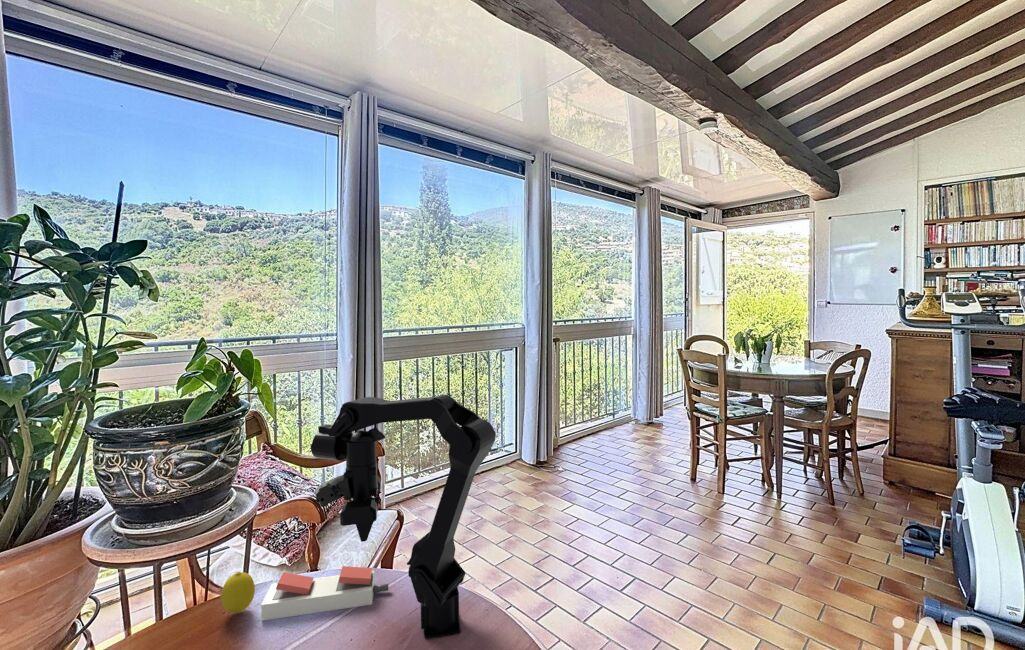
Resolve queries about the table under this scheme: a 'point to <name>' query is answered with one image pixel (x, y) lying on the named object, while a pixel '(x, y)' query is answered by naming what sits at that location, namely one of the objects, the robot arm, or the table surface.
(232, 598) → the lemon
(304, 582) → the block
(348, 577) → the block
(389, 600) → the table surface
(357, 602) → the power strip
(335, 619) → the table surface
